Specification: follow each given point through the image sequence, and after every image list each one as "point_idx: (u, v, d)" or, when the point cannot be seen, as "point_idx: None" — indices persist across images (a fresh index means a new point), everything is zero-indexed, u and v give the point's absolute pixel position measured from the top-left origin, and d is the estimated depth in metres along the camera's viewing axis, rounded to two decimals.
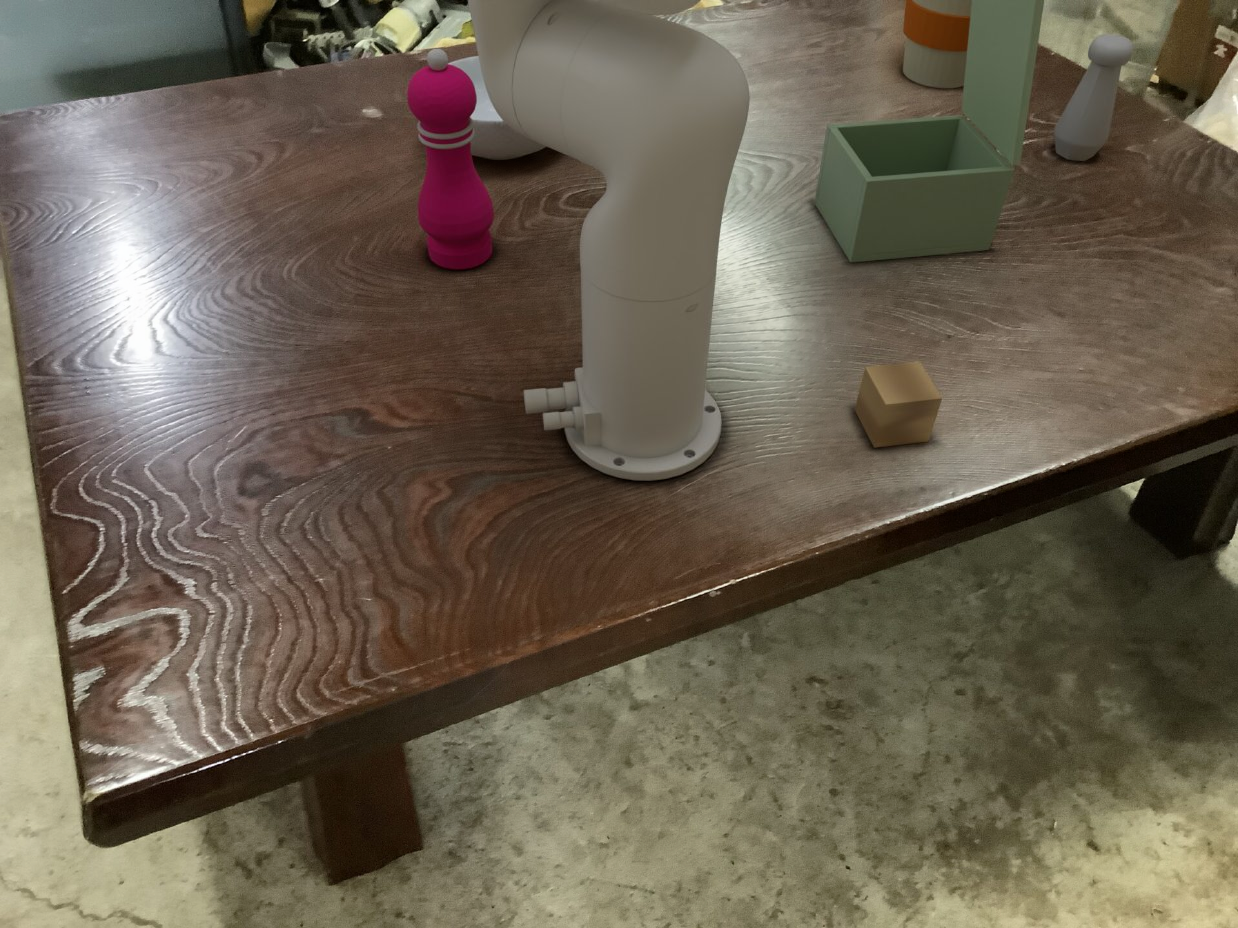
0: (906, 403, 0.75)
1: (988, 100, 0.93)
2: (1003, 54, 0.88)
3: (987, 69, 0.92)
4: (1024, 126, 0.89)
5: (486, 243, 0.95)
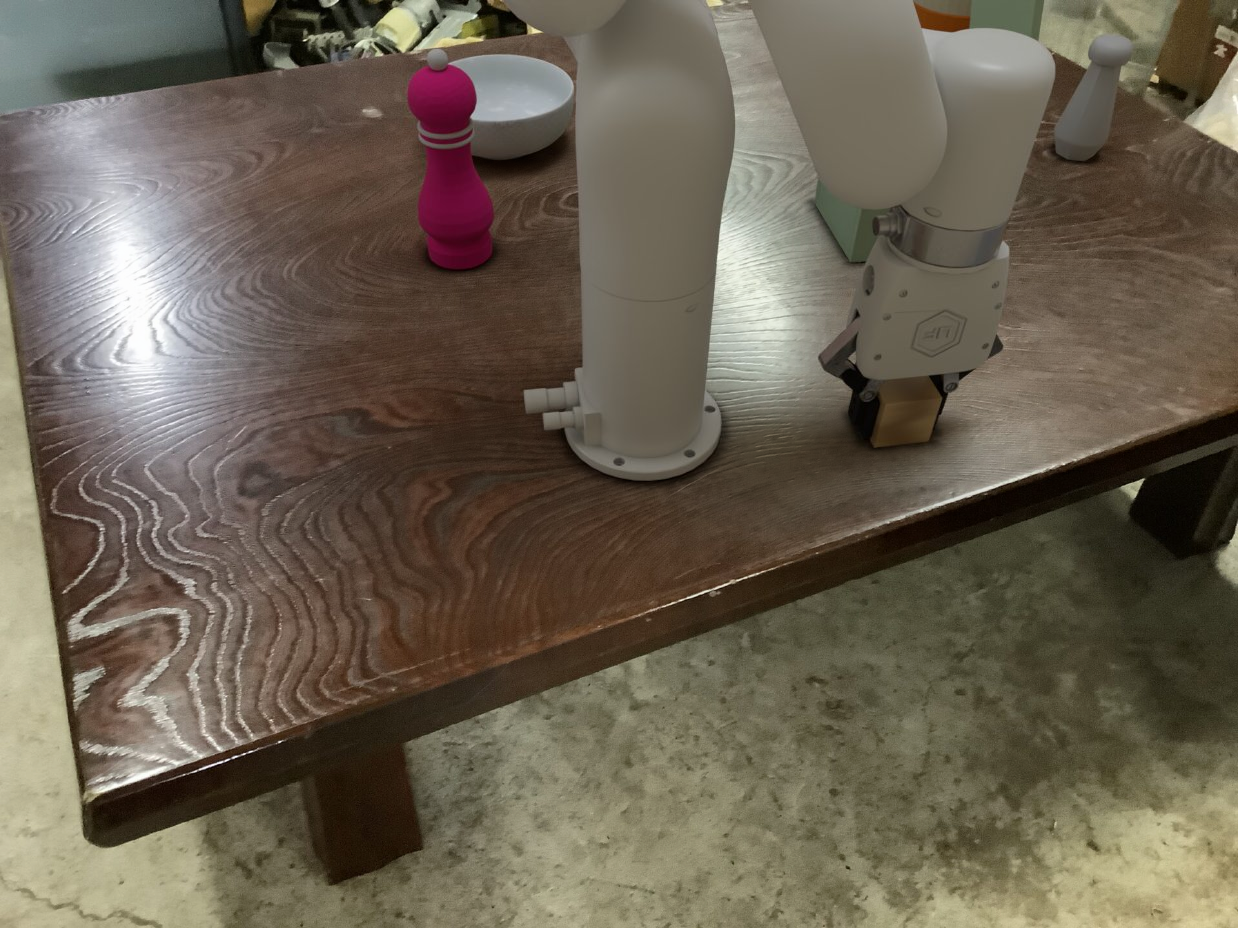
0: (906, 403, 0.75)
1: None
2: None
3: None
4: None
5: (486, 243, 0.95)
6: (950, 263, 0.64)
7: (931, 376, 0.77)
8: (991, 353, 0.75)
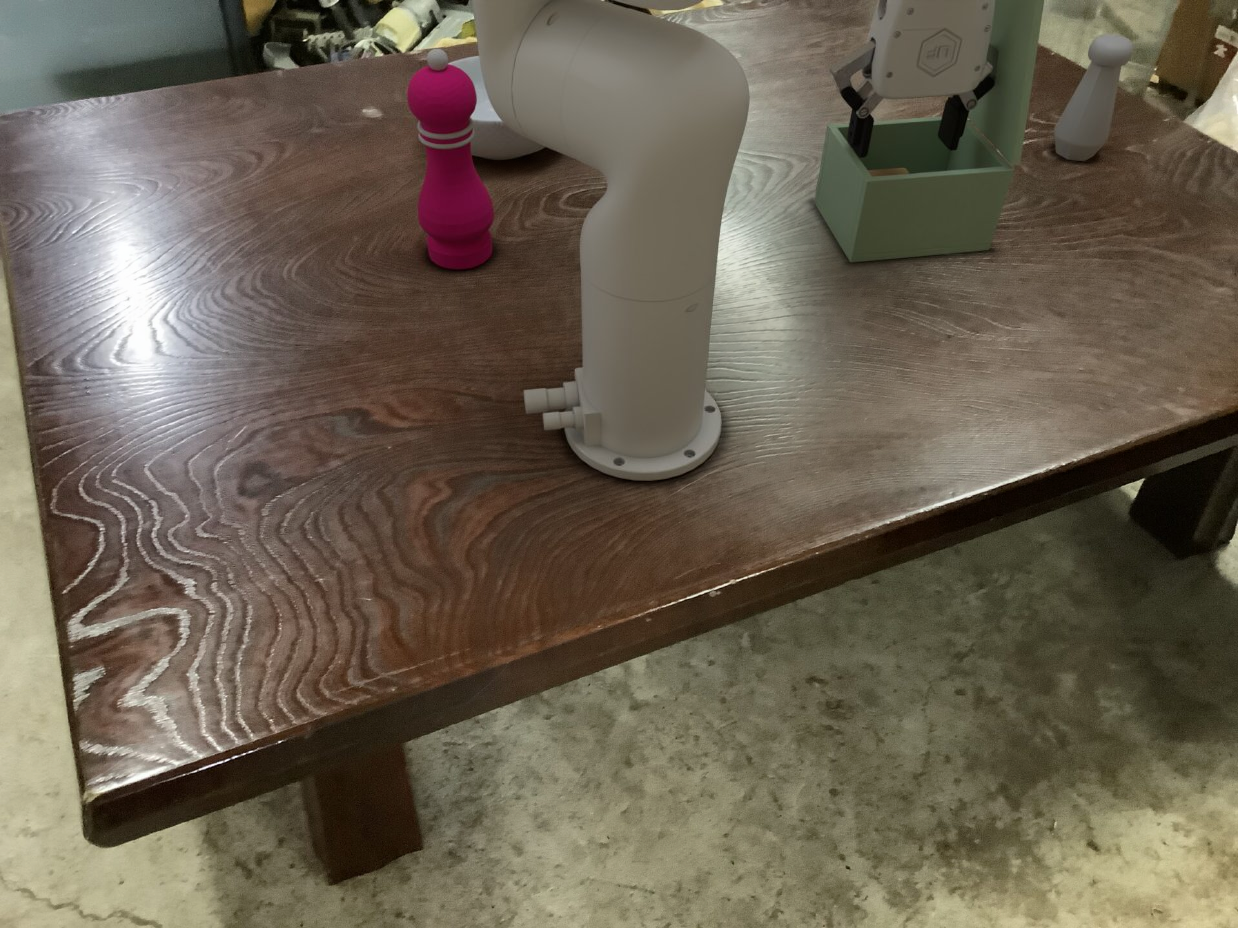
0: None
1: (988, 100, 0.93)
2: (1003, 54, 0.88)
3: None
4: (1024, 126, 0.89)
5: (486, 243, 0.95)
6: None
7: (954, 99, 0.93)
8: None
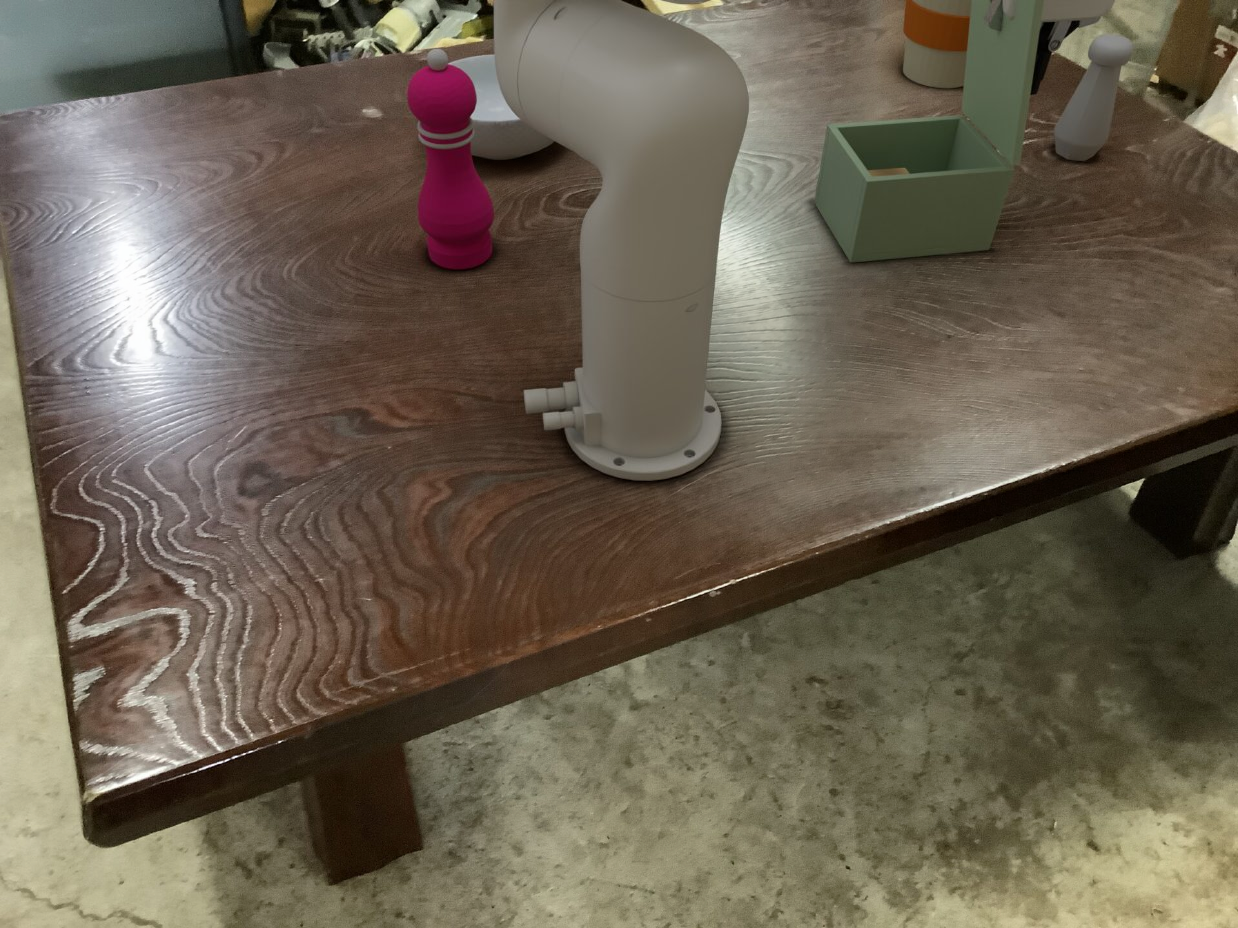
0: None
1: (988, 100, 0.93)
2: (1003, 54, 0.88)
3: (987, 69, 0.92)
4: (1024, 126, 0.89)
5: (486, 243, 0.95)
6: None
7: None
8: (1089, 21, 0.88)
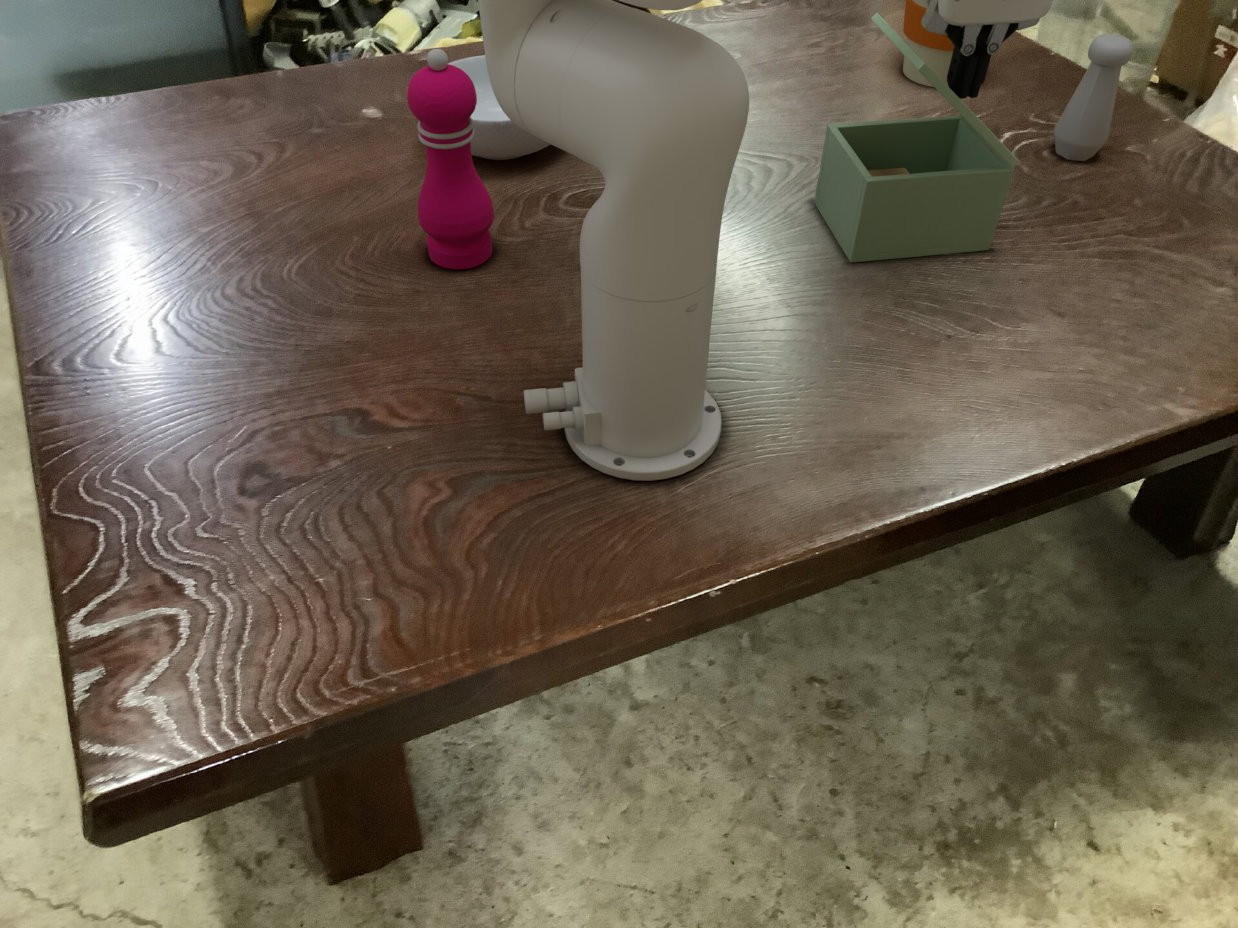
0: None
1: None
2: None
3: None
4: (996, 140, 0.90)
5: (486, 243, 0.95)
6: None
7: (976, 43, 0.89)
8: (1028, 23, 0.88)
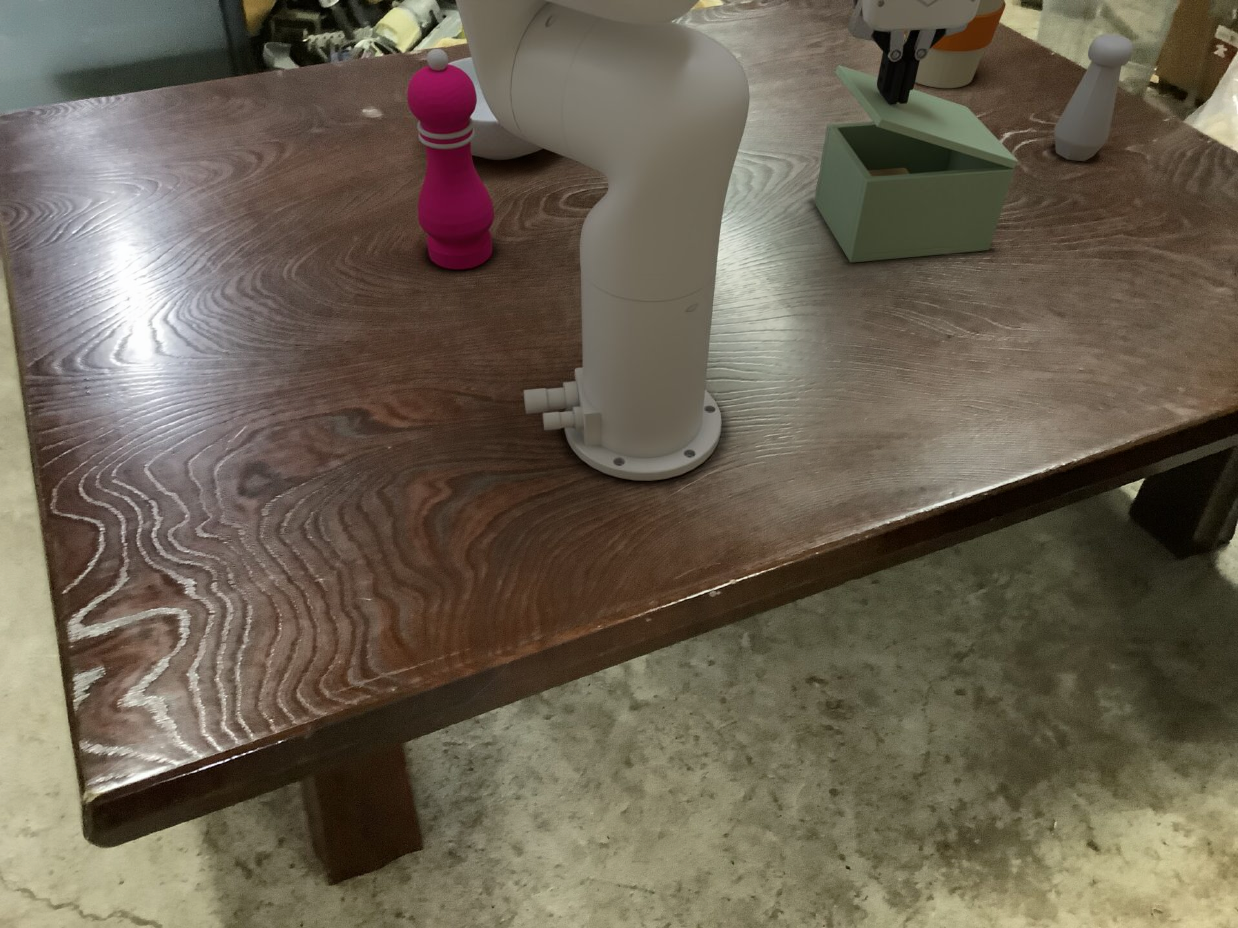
0: None
1: None
2: None
3: None
4: (985, 152, 0.90)
5: (486, 243, 0.95)
6: None
7: (904, 48, 0.88)
8: (956, 29, 0.87)
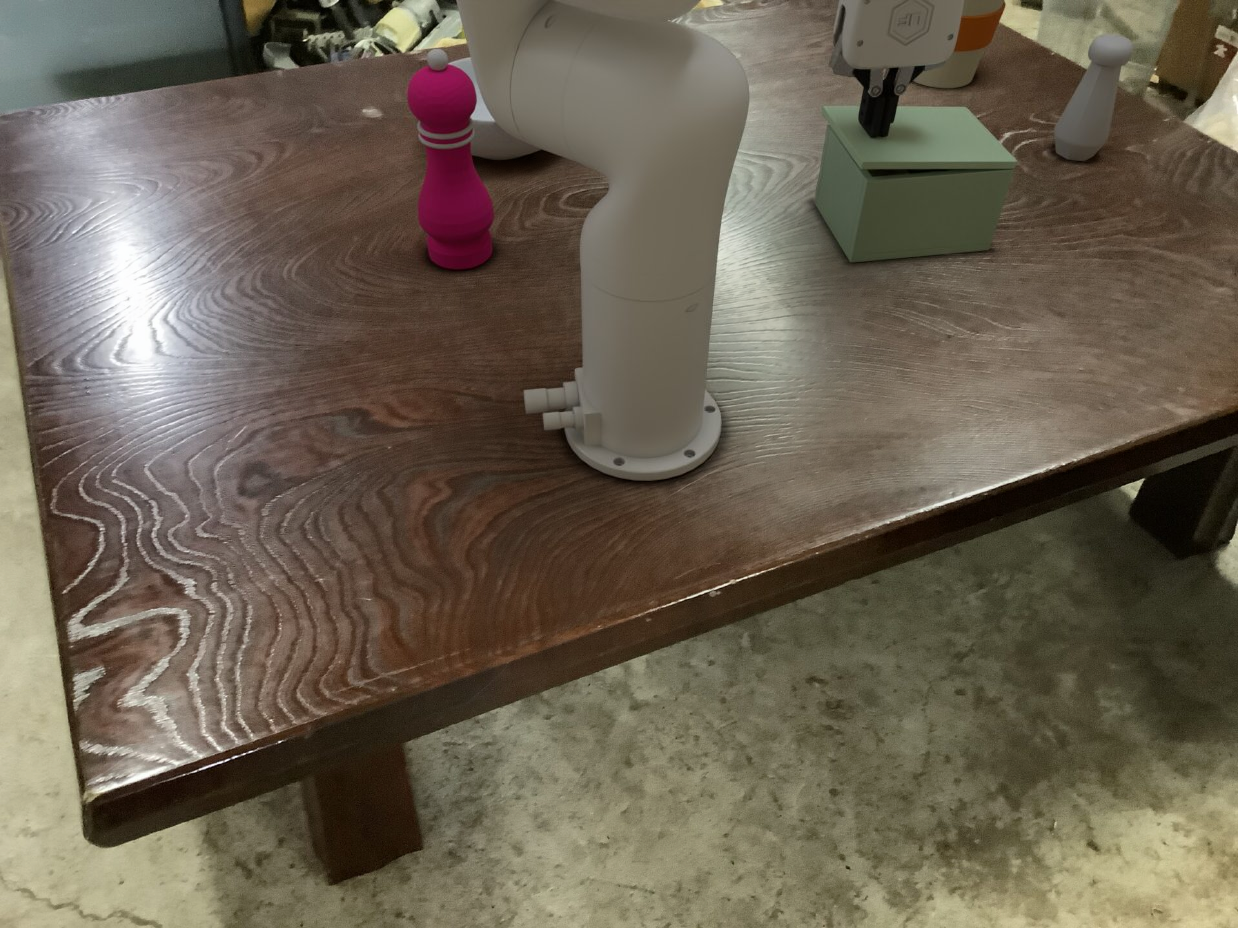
0: None
1: None
2: None
3: None
4: (979, 163, 0.91)
5: (486, 243, 0.95)
6: None
7: (884, 84, 0.90)
8: (934, 65, 0.89)
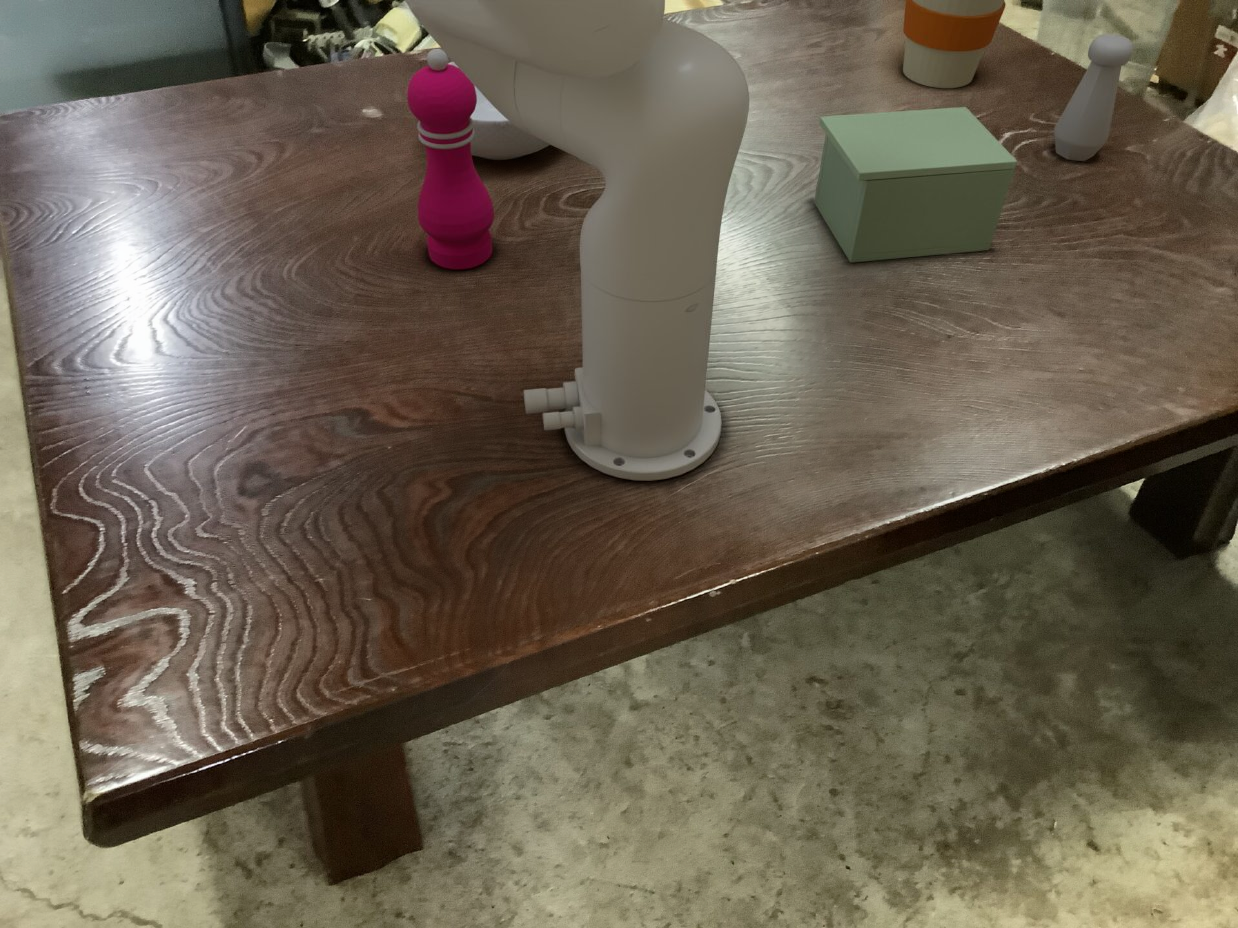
0: None
1: None
2: None
3: None
4: (978, 165, 0.91)
5: (486, 243, 0.95)
6: None
7: None
8: None
